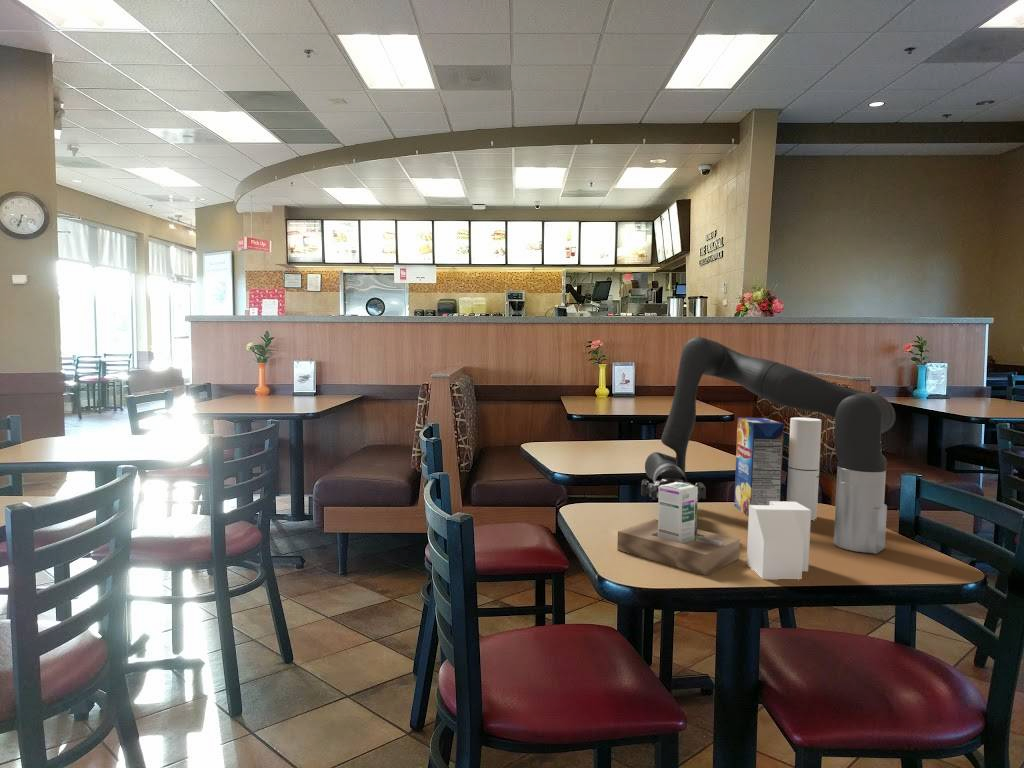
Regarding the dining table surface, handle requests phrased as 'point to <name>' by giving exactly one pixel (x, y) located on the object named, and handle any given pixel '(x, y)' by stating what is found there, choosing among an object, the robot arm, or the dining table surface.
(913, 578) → the dining table surface
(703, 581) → the dining table surface
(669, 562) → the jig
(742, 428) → the juice carton
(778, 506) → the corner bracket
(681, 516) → the syrup box
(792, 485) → the cylindrical container
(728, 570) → the dining table surface
